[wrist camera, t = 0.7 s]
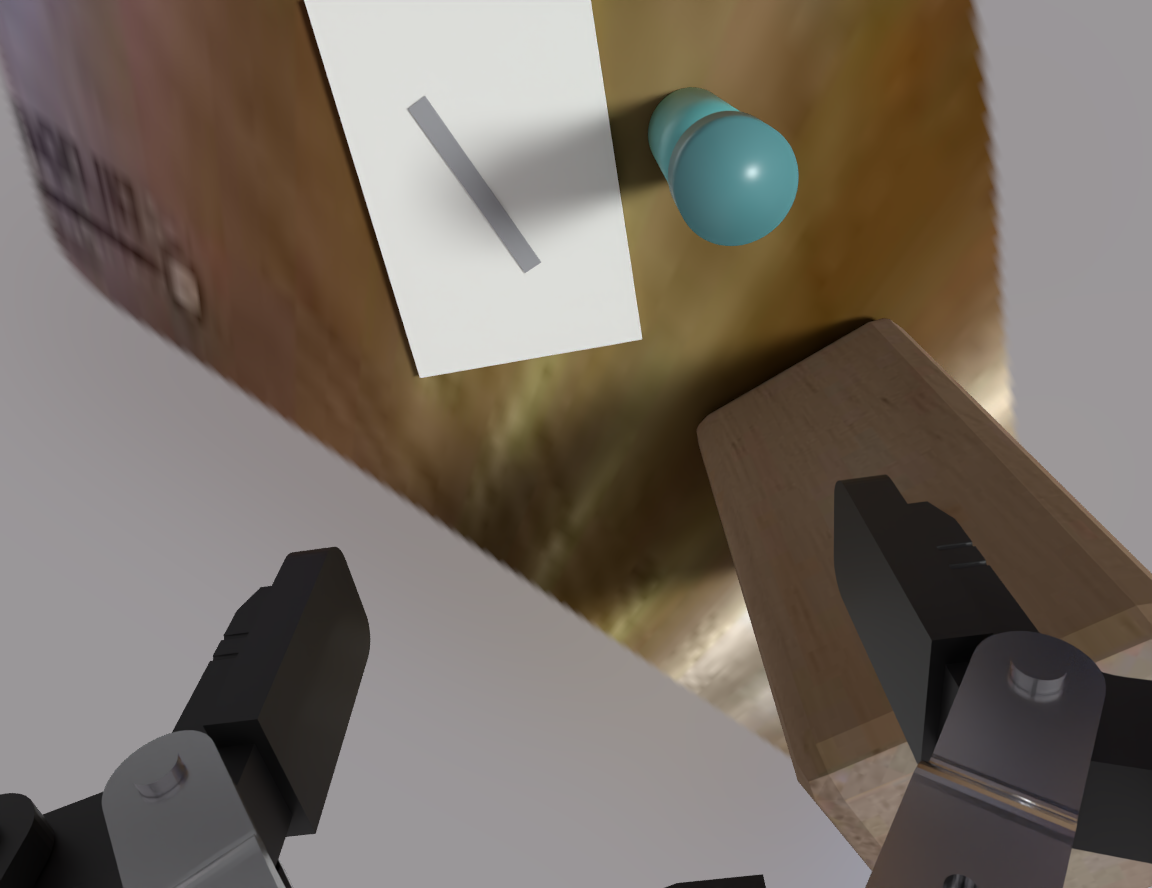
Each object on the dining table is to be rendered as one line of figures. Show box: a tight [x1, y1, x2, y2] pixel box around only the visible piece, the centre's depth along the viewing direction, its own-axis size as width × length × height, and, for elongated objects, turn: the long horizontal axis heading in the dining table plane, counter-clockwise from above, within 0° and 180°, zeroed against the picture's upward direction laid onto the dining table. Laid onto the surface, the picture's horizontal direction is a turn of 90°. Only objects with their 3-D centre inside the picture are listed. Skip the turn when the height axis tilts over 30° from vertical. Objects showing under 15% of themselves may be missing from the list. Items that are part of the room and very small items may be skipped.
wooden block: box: [697, 319, 1152, 888], centre depth 29 cm, size 10×10×20 cm
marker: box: [648, 87, 798, 246], centre depth 26 cm, size 3×3×10 cm
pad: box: [304, 0, 642, 378], centre depth 31 cm, size 15×10×1 cm, turn 11°
